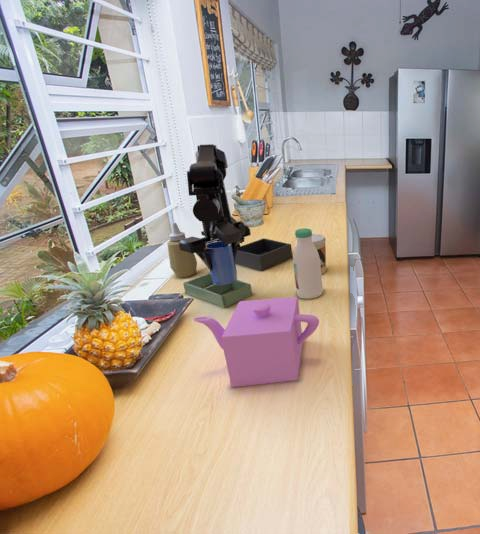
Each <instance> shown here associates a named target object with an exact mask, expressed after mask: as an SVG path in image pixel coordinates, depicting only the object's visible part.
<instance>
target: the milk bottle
mask: <svg viewBox="0 0 480 534" xmlns="http://www.w3.org/2000/svg"><path fill="white" fill-rule="evenodd" d="M312 234H313V231H312V229H311V228H304V227H303V228H298V229H296V230H295V231H294V235H295V239H296V244H295V248H294V250H293V253H292V256H293V258H292V264H293V265H292V266H293V271H294V272H293V273H294V282H295V289H296V295H297V297H299V298H301V299H307V300H309V299H315V298H318V297H320V296H322V295H323V292H324V287H323V278H322V274H321V266H320V258H319V254H318V251H317V249H316V248H315V246H314V244H313V242H312Z"/></svg>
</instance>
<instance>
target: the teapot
mask: <svg viewBox="0 0 480 534" xmlns="http://www.w3.org/2000/svg"><path fill="white" fill-rule="evenodd" d="M298 297H299V296H291V297H279V298H278V297H276V298H265V299H252V300H251V299H250V300H240V301H238V302H237V305H236V306H235V308H234V311H233V312H232V315H231V316H230V318H229V320H228V323H227V325H226V326H225V328H224V327H223V326H222V325H221V323H220V322H219V321H218V320H216V319H215V318H213V317H210V316H199V317H195V318H193V321H194V322H196V323H200V324H202V325H204V326H205V327H207V328H208V329H209V330H210V331H211V333H212V335H213V337H214V339H215V341H216V342H217V344H218V345H219V347H220V349H221V350H223V353H224V358H225V363H226V368H227V372H228V376H229V377H228V378H229V382H230V385H231V388H236V387H237V388H238V387H248V386H256V385H257V386H258V385H267V384H275V383H285V382H294V381H298V380H299V371H300V366H301V365H300V364H301V357H302V351H303V342H304V341H306V340H307V339H308V338H310V337H311V336H312V335H313V334H314V333H315V332H316V331H317V329H318V327H319V326H320V325H319V324H320V320H319V318H318V316H316V315H313V314H305V313H300V312H301V311H300V305H299V298H298ZM302 323H307V324H306V327H305V328H304V330H303V329H302V328H303V327H302Z"/></svg>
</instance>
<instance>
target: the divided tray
mask: <svg viewBox="0 0 480 534" xmlns="http://www.w3.org/2000/svg"><path fill="white" fill-rule="evenodd" d="M206 286H207V287H206ZM183 289H184V292H185V294H186V295H189V296H192V297H195V298H196V299H197V298H198V299H200V300H202V301H205V302H208V303H211V304H212V305H213V304H214V305H216V306H219V307H222V308H223V309H225V308H227V307H230V306H231V305H234V304H236V303H239V301H243V300H244V299H246V298H248V297H250V296H252V295H253V289H252V284H251V283H248V282H245V281H243V280H238V279H237V280H236V281H235V282H233V283H231V284H227V285H215V284H213V283H212V279H211V274H210V272H207V273H206V274H203V275H200V276H198V277H195V278H193V279H190V280H187V281H184V282H183ZM230 290H232V291H230ZM227 291H228V293H225V292H227ZM229 291H230V292H229ZM223 293H225V294H223Z"/></svg>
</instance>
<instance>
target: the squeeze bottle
mask: <svg viewBox="0 0 480 534" xmlns="http://www.w3.org/2000/svg"><path fill="white" fill-rule="evenodd" d="M168 238H169V239H168V242H167V251H168V258H169V267H170V269H171V270H172V272H173V273H174V275H175V276H176V277H177V278H188V277H191V276H193V275H195V274H196V273H197V267H198V261H197V258H196V256H195V253H189V252H185V251H182V250H180V247H179V242H180V240H182V239H185V238H187V237H186V234H185V232H184V231H181V230H180V228H179V226H178V224H177V222H172V223H171V233H169V234H168Z"/></svg>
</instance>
